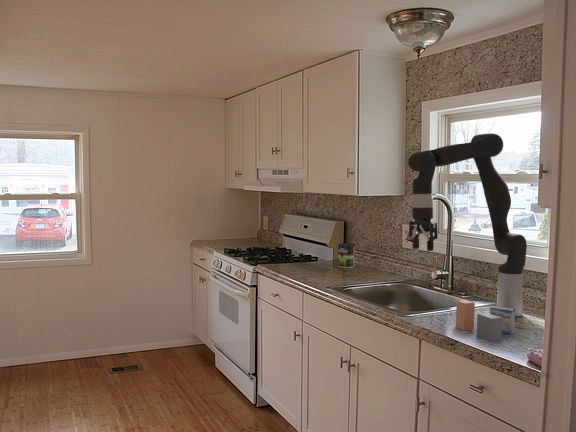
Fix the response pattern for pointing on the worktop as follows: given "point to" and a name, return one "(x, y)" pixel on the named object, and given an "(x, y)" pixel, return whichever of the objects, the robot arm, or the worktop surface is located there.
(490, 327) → the slate-grey plastic block
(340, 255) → the clear container
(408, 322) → the worktop surface
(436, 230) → the robot arm
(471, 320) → the terracotta block
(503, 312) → the medicine box
